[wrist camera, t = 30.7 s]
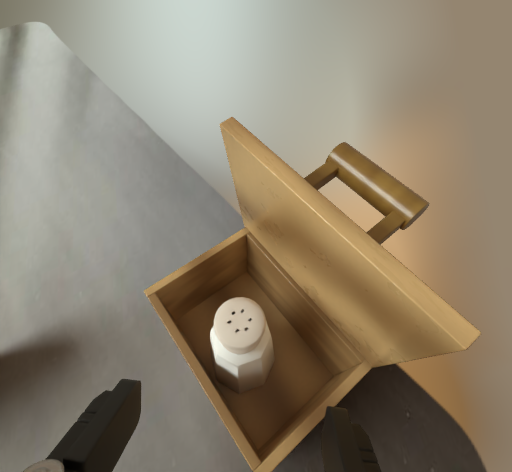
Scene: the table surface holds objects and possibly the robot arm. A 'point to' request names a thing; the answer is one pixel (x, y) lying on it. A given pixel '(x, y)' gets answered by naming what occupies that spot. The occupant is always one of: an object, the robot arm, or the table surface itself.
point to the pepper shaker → (241, 345)
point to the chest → (283, 338)
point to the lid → (345, 249)
